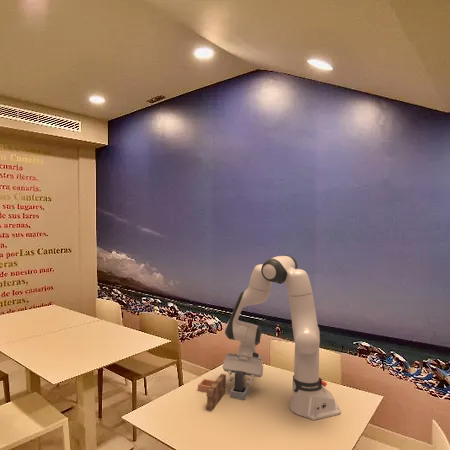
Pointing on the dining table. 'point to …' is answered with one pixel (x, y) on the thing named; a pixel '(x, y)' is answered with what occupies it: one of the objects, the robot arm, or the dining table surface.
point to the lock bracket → (205, 385)
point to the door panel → (216, 392)
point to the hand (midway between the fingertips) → (239, 382)
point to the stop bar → (240, 381)
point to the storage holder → (239, 393)
